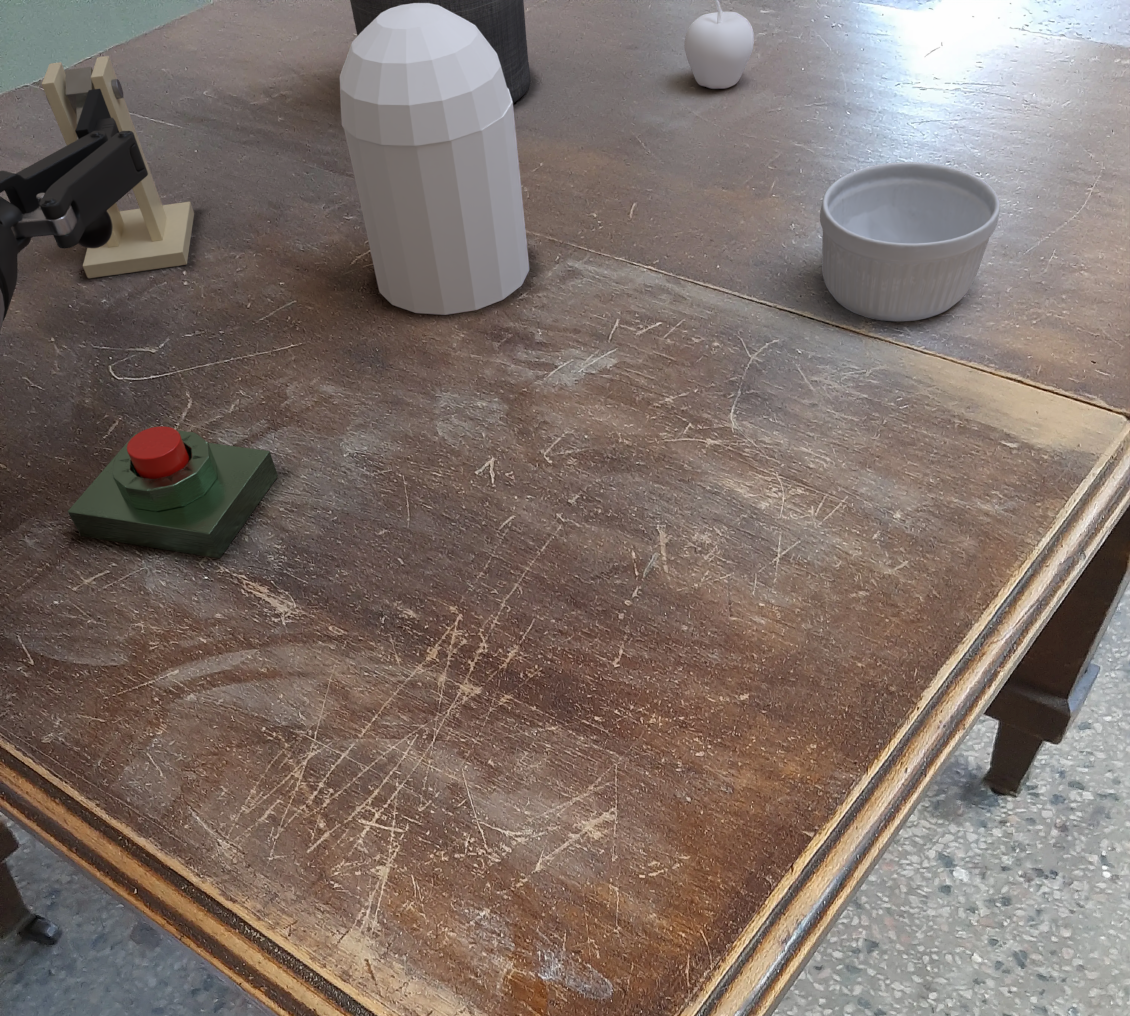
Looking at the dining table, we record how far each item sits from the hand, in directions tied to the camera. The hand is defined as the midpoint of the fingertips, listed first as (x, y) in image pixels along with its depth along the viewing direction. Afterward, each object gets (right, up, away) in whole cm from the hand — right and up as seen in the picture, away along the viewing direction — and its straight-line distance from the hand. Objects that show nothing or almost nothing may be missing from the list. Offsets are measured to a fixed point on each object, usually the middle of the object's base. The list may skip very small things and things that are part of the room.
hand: (0, 125), depth 72 cm
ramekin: (+64, -4, +16) cm, 66 cm away
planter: (+25, +31, +47) cm, 61 cm away
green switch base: (+10, -24, +5) cm, 27 cm away
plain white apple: (+54, +29, +43) cm, 75 cm away
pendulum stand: (-2, +6, +29) cm, 30 cm away
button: (+10, -22, +2) cm, 24 cm away
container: (+28, 0, +22) cm, 35 cm away
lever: (-2, +7, +18) cm, 20 cm away
